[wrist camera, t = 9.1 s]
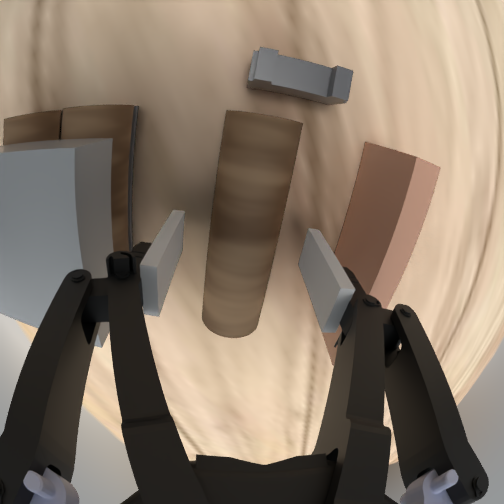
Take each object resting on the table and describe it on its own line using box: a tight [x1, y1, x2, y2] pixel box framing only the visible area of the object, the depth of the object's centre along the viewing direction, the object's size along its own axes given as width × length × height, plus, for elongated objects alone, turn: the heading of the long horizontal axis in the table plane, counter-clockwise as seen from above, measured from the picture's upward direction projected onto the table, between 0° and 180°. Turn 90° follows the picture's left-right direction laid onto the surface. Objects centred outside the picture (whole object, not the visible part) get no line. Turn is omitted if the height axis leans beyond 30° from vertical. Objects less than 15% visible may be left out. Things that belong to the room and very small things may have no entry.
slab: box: [0, 138, 113, 348], centre depth 13 cm, size 12×14×4 cm
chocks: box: [61, 106, 139, 252], centre depth 20 cm, size 16×23×1 cm
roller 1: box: [3, 110, 61, 145], centre depth 17 cm, size 16×5×5 cm, turn 170°
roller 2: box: [61, 105, 134, 252], centre depth 18 cm, size 16×5×5 cm, turn 171°
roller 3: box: [202, 110, 303, 338], centre depth 19 cm, size 16×5×5 cm, turn 170°
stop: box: [322, 142, 441, 365], centre depth 19 cm, size 16×2×7 cm, turn 171°
